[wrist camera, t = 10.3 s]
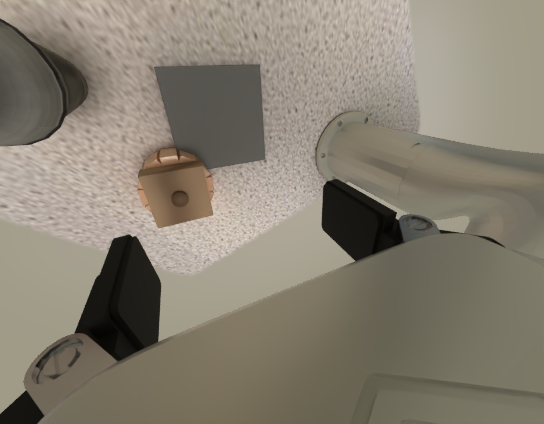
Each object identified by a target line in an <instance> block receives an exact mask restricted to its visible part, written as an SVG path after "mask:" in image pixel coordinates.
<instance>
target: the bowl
mask: <svg viewBox="0 0 544 424" xmlns="http://www.w3.org/2000/svg"><path fill="white" fill-rule="evenodd" d="M197 160H199V158H198V157H196V158H195V155H193V154H190V153H187V152H185V151H182V150H179V152H178V153H177V151H176V147H175V148H168V149H160V153H159V152H158V151H156V152H155V153H154V154H152V155H151V156H150V157H149V158H147V159H146V160H145V163H143V167H142V169H147V168H153V167H159V166H166V165H172V164H178V163H184V162H191V161H197ZM201 163H202V162H201ZM202 165H203V169H204V173H205V178H206V183H207V187H208V192H209V197H210V201H211V199H212V197H213V194H214V192H213V190H214V187H213V182H212V177H211V175H210V173H209V171H208V169H207V167H206V166H205V165H204V164H203V163H202ZM137 188H138V190H137V191H138V194H139V196H140V198H141V201H142V203H143V205H145V204H146V205H145V208H147V209H148V210H149V211H151V209H150V206H149V204H148V201H147V199H146V196H145V194H144V191H143V188H142V186H141V183H140V181H139V182H138V186H137ZM151 212H152V211H151Z"/></svg>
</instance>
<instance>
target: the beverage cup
mask: <svg viewBox="0 0 544 424" xmlns="http://www.w3.org/2000/svg"><path fill="white" fill-rule="evenodd" d="M87 94H88V92H87V84H86V81H85V78H84V77H83V76H82V74H81V73H80V71H79V70H78V69H77V68H76V67H75V66H74V65H72V64H71V63H70V62H68V61H67V60H65V59H64V58H62V57H60V56H59V55H57V54H55V53H53V52H51V51H49V50H47V49H45V48H43V47H41V46H40V45H38V44H36V43H34V42H32V41H30V40H29V39H28V38H27V37H26V36H25V35H24V34H22V33H21V32H20V31H19V30H18V29H17V28H15V27H14V26H12V25H10V24H9V23H7V22H5V21H4V20H2V19H0V146H16V145H31V144H34V143H36V142H39V141H42V140H44V139H47V138H49V137H50V136H51V135H52V134H53V133H55V132H56V131H57V130H58V129H59V128H60V127H61V125H62V123H63V120H64V118H65V116H67V115H68V114H69V113H71V112H72V111H73V110H75V109H76V108H77V107H79V106H80V105H81V104H82V103H83V101H84V100H85V99H86V96H87Z"/></svg>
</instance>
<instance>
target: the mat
mask: <svg viewBox="0 0 544 424" xmlns="http://www.w3.org/2000/svg"><path fill="white" fill-rule="evenodd" d="M154 68H155V72H156V76H157V79H158V83H159V87H160V91H161V94H162V98H163V102H164V105H165V109H166V113H167V116H168V120H169V124H170V127H171V131H172V135H173V139H174V142H175V146H176V150H177V153H178V152H179V150H182V151H185V152H187V153H190V154H193V155H195V158H196V157H198V158H199V160H200V161H201V162H202V163H203V164H204V165H205V166H206V167H207V169H212V168H218V167H224V166H229V165H235V164H241V163H247V162H252V161H258V160H264V159H265V147H264V129H263V112H262V94H261V77H260V65H219V66H177V67H154Z"/></svg>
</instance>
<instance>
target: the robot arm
mask: <svg viewBox="0 0 544 424" xmlns="http://www.w3.org/2000/svg"><path fill="white" fill-rule="evenodd" d="M316 163H317V167H318V170H319V172H320V174H321V175H322V176H323V177H324V178H325V179H327V180H328V181H327V182H326V184H325V185H324V187H323V207H322V228H323V230H324V231H325V232H326V233H327V234H328V235H329V236H330V237H331V238H332V239H333V240H334V241H335V242H336V243H337V244H338V245H339V246H341V248H342V249H343V250H345V251H346V252H347V253H348V254H349V255H350V256H351V257H352V258H353V259H354V260H355V262H353V263H350V264H348V265H345V266H343V267H340V268H338V269H335V270H333V271H330V272H328V273H325V274H322V275H320V276H318V277H315V278H313V279H310V280H308V281H305V282H303V283H300V284H298V285H295V286H293V287H290V288H288V289H285V290H283V291H280V292H278V293H275V294H273V295H270V296H268V297H265V298H263V299H260V300H258V301H256V302H253V303H251V304H248V305H246V306H243V307H241V308H238V309H236V310H234V311H232V312H229V313H226V314H224V315H221V316H219V317H217V318H214V319H211V320H209V321H207V322H204V323H202V324H199V325H197V326H195V327H192V328H190V329H188V330H185V331H183V332H181V333H179V334H176V335H174V336H171V337H169V338H167V339H164V340H162V341H160V342H158V336H159V316H160V296H161V282H160V279H159V277H158V275H157V273H156V271H155V270H154V268H153V266H152V264H151V262H150V260H149V258H148V257H147V255H146V253H145V251H144V249H143V247H142V245H141V244H140V242H139V240H138V238H137V237H136V236H135V237H132V236H131V235H126V236H122V237H118V238H115V239H113V241H112V244H111V246H110V249H109V252H108V254H107V257H106V259H105V262H104V265H103V268H102V270H101V273H100V275H99V276H98V277H97V278H96V279H95V282H94V285H93V287H92V290H91V292H90V295H89V297H88V300H87V302H86V305H85V308H84V310H83V313H82V315H81V318H80V320H79V323H78V326H77V328H76V331H75V333H74V334H71V335H68V336H65V337H63V338H61V339H59V340H57V341H56V342H54V343H53V344H52V345H50V346H49V347H47V348H46V349H45V350H44V351H43V352H42V353H41V354H40V355H38V357H37V358H36V359H35V360H34V361H33V362H32V364H31V365H30V367H29V368H28V370H27V372H26V374H25V377H24V386H25V389H26V391H25V392H24V393H23V394H22V395H21V396H20V397H18V398H17V399H16V400H15V401H14V402H13V403H12V404H11V405H10V406H9V407H7V408H6V409H5V410H4V411H3V412H2V413H1V414H0V424H544V154H540V153H529V152H520V151H511V150H501V149H495V148H489V147H483V146H476V145H471V144H465V143H460V142H455V141H450V140H445V139H440V138H435V137H430V136H425V135H420V134H415V133H410V132H405V131H400V130H395V129H390V128H385V127H380V126H375V124H374V122H373V120H372V119H371V118H370V117H369V116H368V115H367V114H365V113H362V112H357V111H351V112H346V113H344V114H341V115H340V116H338V117H336V118H335V119H334V120H333V121H332V122H331V123H330V124H329V125H328V126H327V128H326V129H325V131H324V132H323V134H322V136H321V138H320V141H319V143H318V147H317V153H316ZM348 181H349V182H350V183H352V184H354V185H356V186H358V187H360V188H362V189H364V190H365V191H367V192H369V193H371V194H373V195H375V196H377V197H379V198H380V199H383V200H384V201H386V202H388V203H390V204H392V205H394V206H396V207H397V208H399V209H401V210H403V211H405V212H407V213H409V214H407V215H403V216H401V217H400V218H399V220H397V219H396V214H397V212H395V211H393V210H391V209H390V208H388V207H386V206H384V205H382V204H381V203H379V202H377V201H376V200H374V199H372V198H370V197H368V196H367V195H365V194H363V193H361V192H359V191H358V190H356V189H354V188H353V187H351V186H349V185H347V184H346V183H345V182H348ZM464 215H465V216H468V217H469V218H470V222H469V224H468V226H467V228H466V230H465V231H464V233H458V232H451V231H444V230H439V229H438V228H437V225H436V224H435V223H434V222H433V221H432V220H441V219H447V218H452V217H458V216H464Z"/></svg>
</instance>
